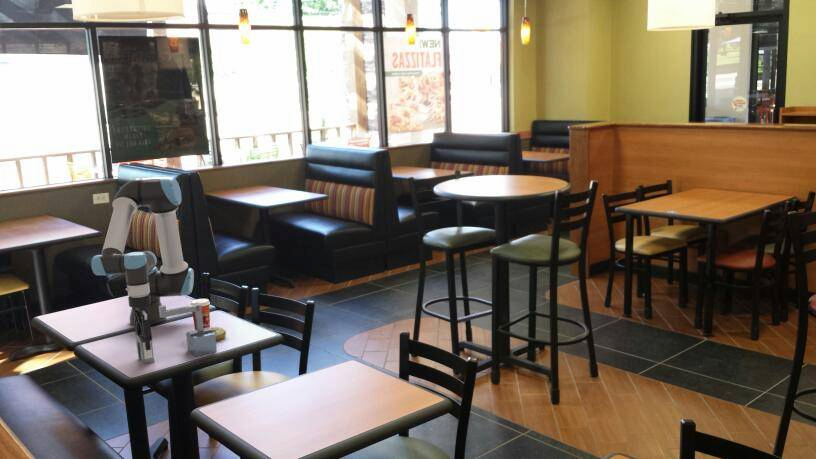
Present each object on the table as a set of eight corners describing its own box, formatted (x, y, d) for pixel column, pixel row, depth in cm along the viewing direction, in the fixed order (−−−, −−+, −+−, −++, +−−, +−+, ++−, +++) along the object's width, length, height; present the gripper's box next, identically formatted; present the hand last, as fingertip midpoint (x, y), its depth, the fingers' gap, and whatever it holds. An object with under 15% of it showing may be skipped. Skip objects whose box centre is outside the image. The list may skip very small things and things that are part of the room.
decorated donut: (194, 339, 295) (193, 330, 294) (219, 333, 301) (218, 324, 301) (204, 345, 287) (203, 335, 286) (230, 338, 293) (229, 329, 292)
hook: (138, 359, 273) (135, 333, 272) (149, 357, 276) (146, 331, 274) (143, 364, 268) (140, 338, 266) (154, 362, 270) (151, 336, 268)
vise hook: (161, 355, 276) (155, 303, 273) (208, 344, 286) (204, 295, 283) (168, 362, 268) (163, 309, 265) (217, 351, 278) (212, 300, 274)
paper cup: (209, 336, 296) (206, 303, 294) (190, 337, 296) (187, 303, 294) (215, 330, 304) (212, 297, 301) (196, 331, 304) (193, 298, 302)
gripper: (121, 291, 274) (128, 349, 278) (135, 302, 257) (142, 365, 261) (142, 287, 278) (148, 345, 282) (157, 298, 261) (163, 360, 265)
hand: (145, 354), depth 271 cm, fingers open, 7 cm apart
